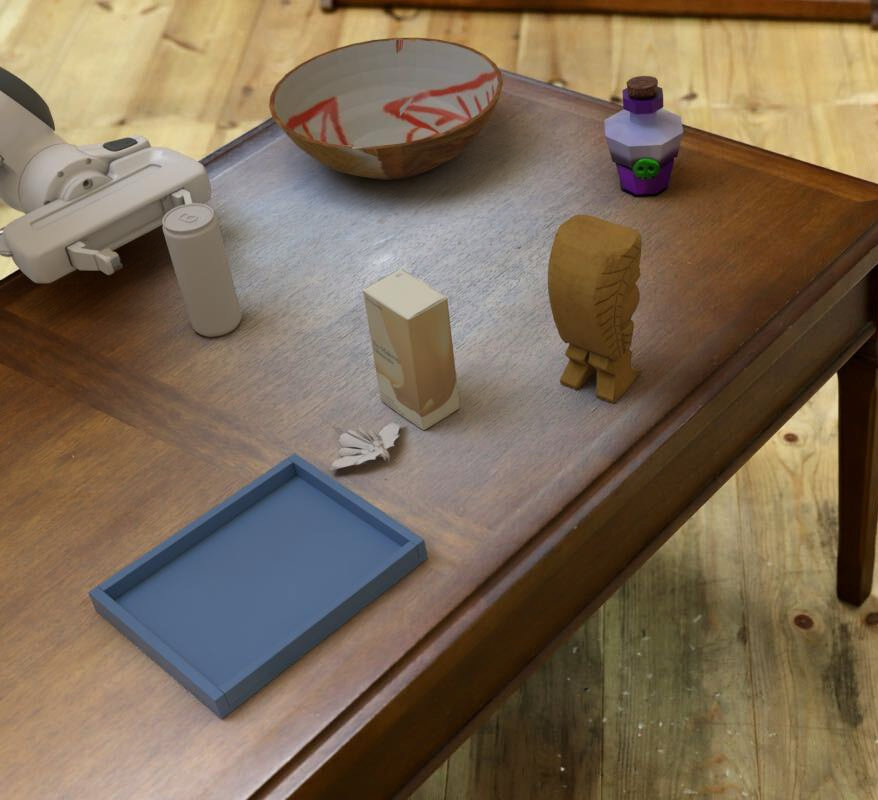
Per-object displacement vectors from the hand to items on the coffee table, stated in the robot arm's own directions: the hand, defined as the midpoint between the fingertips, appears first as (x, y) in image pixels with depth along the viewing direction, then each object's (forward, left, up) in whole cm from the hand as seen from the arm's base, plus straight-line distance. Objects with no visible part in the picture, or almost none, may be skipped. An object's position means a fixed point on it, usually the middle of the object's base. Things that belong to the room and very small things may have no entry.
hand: (157, 242), depth 130 cm
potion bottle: (+44, -23, -7) cm, 50 cm away
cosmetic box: (+4, -31, -7) cm, 32 cm away
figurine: (+16, -41, -7) cm, 44 cm away
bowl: (+32, +3, -7) cm, 33 cm away
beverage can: (0, -7, -7) cm, 10 cm away
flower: (-3, -31, -7) cm, 32 cm away
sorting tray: (-18, -37, -7) cm, 41 cm away
